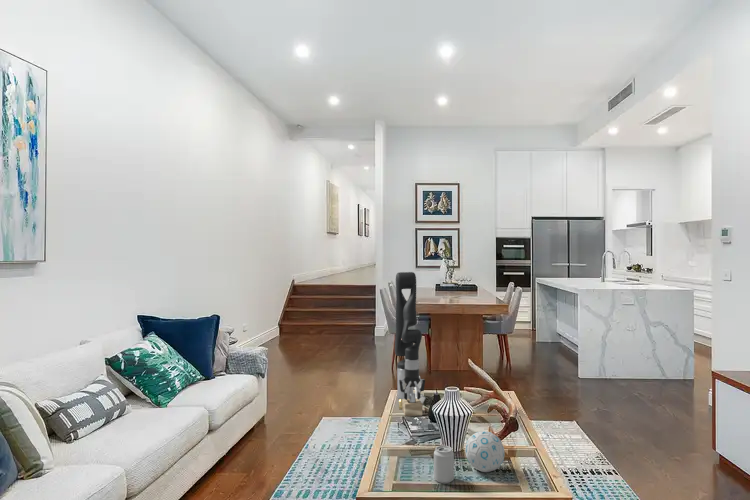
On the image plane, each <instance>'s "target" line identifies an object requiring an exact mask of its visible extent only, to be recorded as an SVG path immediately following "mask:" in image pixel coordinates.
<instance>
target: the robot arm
mask: <svg viewBox="0 0 750 500" xmlns="http://www.w3.org/2000/svg"><path fill="white" fill-rule="evenodd" d="M403 290H410V293H409V296H408V298H407V299H406V298H405V296H404V294H403ZM395 294H396V295H395V296H396V298H395V299H396V301H395V302H396V303H395V338H394V355H395V356H397V357H404V359H402V360H400V361H398V362H397V364H396V367H397V368H396V369H397V373H396V374H397V375H396V377H397V384H396V385H397V392H396V393H397V398H398V400H399V399H405V400H407V399H410V393H414V387H416V388H417V391H418V392H417V399H418V400H419V398H420V394H421V392H424V391H425V386H426V380H425V378H421V377H420V378H419V376H420V358H419V352H420V351H419V350H420V345H421V342H422V339H423V334H422V331H421V330H420V329H409V328H410V327H414V326H416V325H417V324H418V317H417V276H416V273H415V272H413V271H407V272H405V271H402V272H397V273H396V275H395ZM420 381H421V388H420V389H419V387H418V383H419V382H420Z"/></svg>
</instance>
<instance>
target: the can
mask: <svg viewBox="0 0 750 500" xmlns="http://www.w3.org/2000/svg"><path fill="white" fill-rule="evenodd" d="M454 458H455V453H454V451H453V449H452V447H451V446H448V445H438V446H436V447H435V449H434V452H433V478H434V480H436V481H437V482H438V483H440V484H450V483H451V482H452V481H453V480H454V479H455V459H454Z"/></svg>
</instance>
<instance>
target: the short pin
mask: <svg viewBox="0 0 750 500" xmlns="http://www.w3.org/2000/svg"><path fill="white" fill-rule="evenodd" d="M398 409H399V410H401V411H402V399H399V398H398Z"/></svg>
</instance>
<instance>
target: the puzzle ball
mask: <svg viewBox="0 0 750 500" xmlns="http://www.w3.org/2000/svg"><path fill="white" fill-rule="evenodd" d="M464 452H465V453H464V454H465V457H466V459H467V461H468V463H469V464H470V466H471V467H472V468H474V469H476V470H478V471H480V472H482V473H490V472H493V471H495V470H497V469H499V468H500V467H501V466H502V464H503V462H504V459H505V447H504V445H503V443H502V441H501V438H500V437H499V436H497V435H496V434H494V433H492V432H491V431H486V430H483V431H476V432H475V433H473V434H472V435H471V436H470V437H469V438H468V439H467V441H466V443H465V451H464Z"/></svg>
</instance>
